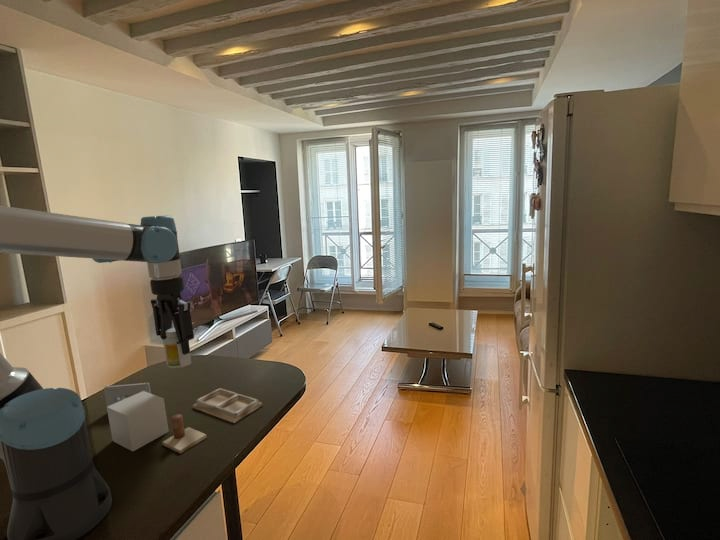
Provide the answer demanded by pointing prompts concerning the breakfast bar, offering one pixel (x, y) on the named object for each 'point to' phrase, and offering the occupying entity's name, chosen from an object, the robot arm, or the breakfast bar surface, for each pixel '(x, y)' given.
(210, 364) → the breakfast bar surface
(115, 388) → the cassette
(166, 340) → the supplement bottle
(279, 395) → the breakfast bar surface
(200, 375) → the breakfast bar surface
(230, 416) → the beige divided tray
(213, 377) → the breakfast bar surface
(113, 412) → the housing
